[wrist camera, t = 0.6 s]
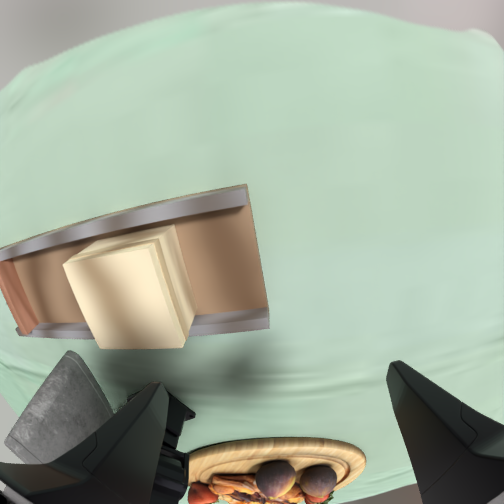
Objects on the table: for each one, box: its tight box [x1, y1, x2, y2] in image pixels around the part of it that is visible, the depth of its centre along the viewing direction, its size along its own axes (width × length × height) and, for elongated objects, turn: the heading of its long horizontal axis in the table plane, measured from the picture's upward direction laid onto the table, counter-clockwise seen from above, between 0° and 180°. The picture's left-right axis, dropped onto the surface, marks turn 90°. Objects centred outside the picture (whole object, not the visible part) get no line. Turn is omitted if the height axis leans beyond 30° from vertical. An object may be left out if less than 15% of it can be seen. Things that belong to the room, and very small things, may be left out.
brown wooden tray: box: [0, 184, 270, 339], centre depth 21 cm, size 30×10×4 cm, turn 100°
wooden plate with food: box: [188, 437, 366, 504], centre depth 33 cm, size 32×32×8 cm
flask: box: [4, 351, 114, 464], centre depth 21 cm, size 4×14×18 cm, turn 3°
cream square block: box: [62, 224, 197, 349], centre depth 19 cm, size 7×7×5 cm
